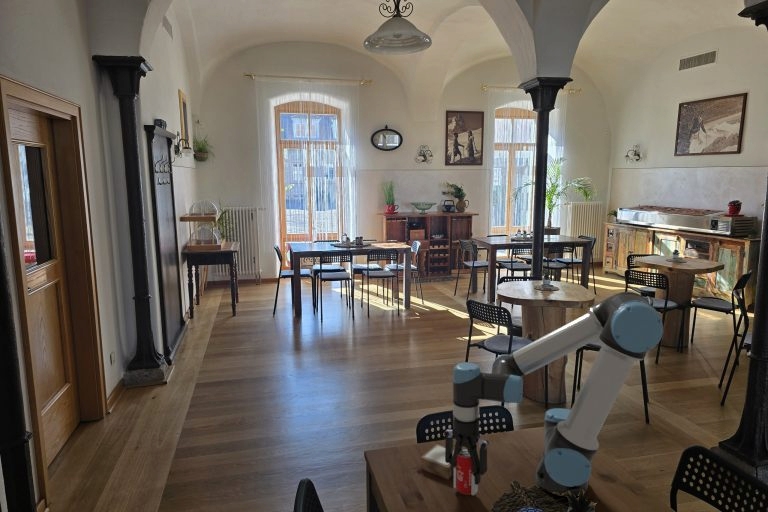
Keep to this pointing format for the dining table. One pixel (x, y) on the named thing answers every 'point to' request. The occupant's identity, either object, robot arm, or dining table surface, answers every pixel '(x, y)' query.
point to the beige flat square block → (436, 462)
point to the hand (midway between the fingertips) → (465, 489)
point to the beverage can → (464, 472)
